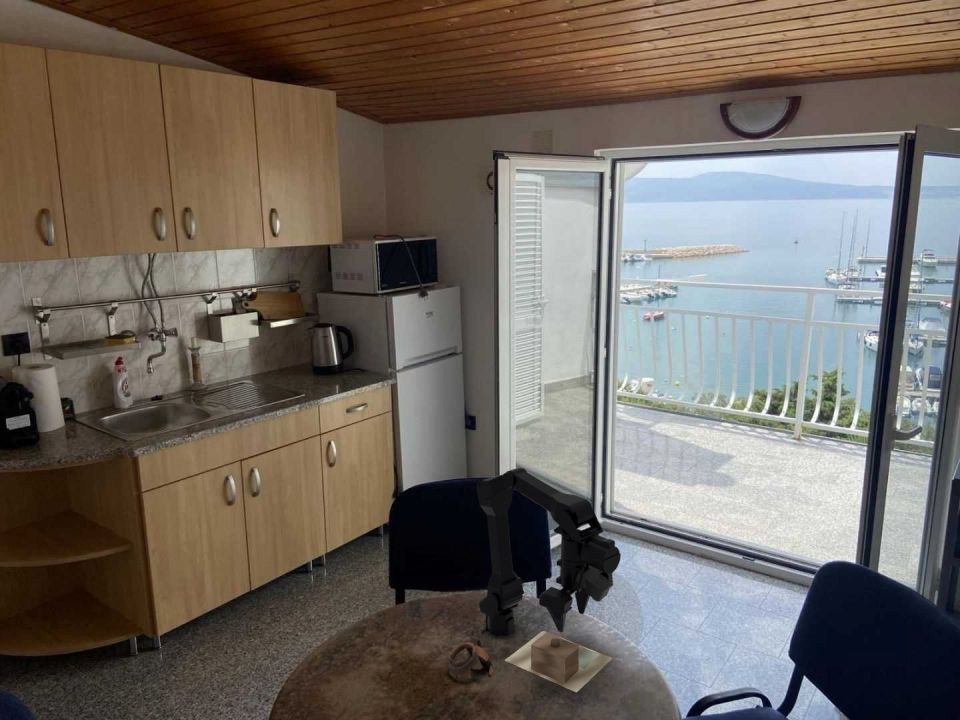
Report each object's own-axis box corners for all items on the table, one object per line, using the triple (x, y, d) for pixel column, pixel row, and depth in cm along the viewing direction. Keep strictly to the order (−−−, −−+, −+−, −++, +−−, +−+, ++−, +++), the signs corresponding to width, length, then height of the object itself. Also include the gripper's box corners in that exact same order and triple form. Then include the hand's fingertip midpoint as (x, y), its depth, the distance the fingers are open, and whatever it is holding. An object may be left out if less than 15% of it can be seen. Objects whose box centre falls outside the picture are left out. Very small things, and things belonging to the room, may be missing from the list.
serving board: (504, 664, 161) (504, 660, 161) (543, 634, 174) (543, 630, 174) (576, 696, 150) (576, 692, 149) (612, 662, 162) (612, 657, 162)
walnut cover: (531, 669, 158) (531, 640, 157) (546, 656, 163) (546, 628, 161) (563, 683, 152) (564, 653, 151) (578, 670, 157) (579, 641, 156)
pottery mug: (496, 690, 153) (478, 664, 150) (458, 702, 155) (440, 677, 152) (499, 647, 164) (482, 622, 161) (463, 659, 166) (446, 635, 163)
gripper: (585, 584, 141) (582, 655, 144) (626, 551, 156) (623, 616, 158) (538, 568, 148) (536, 636, 150) (582, 538, 162) (579, 600, 165)
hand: (571, 622), depth 156 cm, fingers open, 9 cm apart
